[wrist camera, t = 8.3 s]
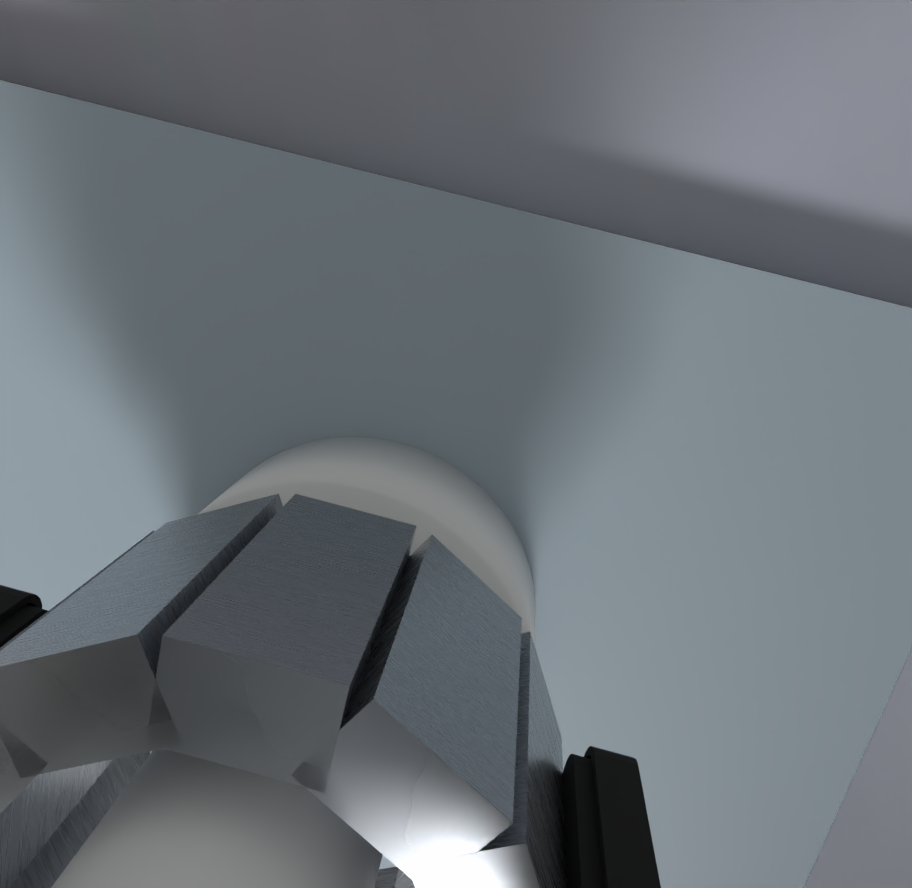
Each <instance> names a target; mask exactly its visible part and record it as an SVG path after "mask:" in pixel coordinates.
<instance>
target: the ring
mask: <svg viewBox="0 0 912 888" xmlns="http://www.w3.org/2000/svg"><path fill="white" fill-rule="evenodd" d="M416 527H417V526H416V525H412V524H408V523H405V522H401V521H397V520H393V519H390V518H386V517H382V516H378V515H375V514H371V513H367V512H363V511H359V510H356V509H352V508H348V507H344V506H341V505H337V504H333V503H329V502H325V501H322V500H318V499H314V498H310V497H307V496H303V495H299V494H295V495H294V496H293V497H292V498H291V499H290V500H289V501H288V502H287V503H286V504H285V505H284V506H283V504H282V502H281V499H280V496H279V493H278V494H274V495H271V496H267V497H263V498H259V499H255V500H251V501H247V502H244V503H240V504H236V505H232V506H228V507H224V508H221V509H217V510H213V511H209V512H205V513H201V514H197V515H194V516H190V517H186V518H182V519H178V520H174V521H170V522H167V523H165V524H164V525H163V526H161V527H160V528H159V529H157V530H156V531H154V530H153V531H152V532H151V533H149V534H148V535H147V536H145V537H144V538H143V539H141V540H140V541H139V542H138V543H136V544H135V545H134V546H132V547H131V548H130V549H128V550H127V551H126V552H125V553H123V554H122V555H121V556H119V557H118V558H117V559H115V560H114V561H113V562H111V563H110V564H109V565H108V566H106V567H105V568H104V569H102V570H101V571H100V572H98V573H97V574H96V575H95V576H93V577H92V578H91V579H89V580H88V581H87V582H85V583H84V584H83V585H82V586H80V587H79V588H78V589H76V590H75V591H74V592H72V593H71V594H70V595H68V596H67V597H66V598H65V599H63V600H62V601H61V602H59V603H58V604H57V605H55V606H54V607H53V608H52V609H50V610H49V611H48V612H46V613H45V614H44V615H42V616H41V617H40V618H39V619H37V620H36V621H35V622H33V623H32V624H31V625H29V626H28V627H27V628H26V629H24V630H23V631H22V632H20V633H19V634H18V635H16V636H15V637H14V638H12V639H11V640H10V641H9V642H7V643H6V644H5V645H3V646H2V647H1V648H0V888H51V887H52V886H53V884H54V883H55V882H56V880H57V879H58V878H59V876H60V875H61V874H62V872H63V871H64V869H65V868H66V867H67V865H68V864H69V863H70V861H71V860H72V859H73V857H74V856H75V855H76V853H77V852H78V851H79V849H80V848H81V847H82V845H83V844H84V843H85V841H86V840H87V839H88V837H89V836H90V834H91V833H92V832H93V830H94V829H95V828H96V826H97V825H98V824H99V822H100V821H101V820H102V818H103V817H104V816H105V814H106V813H107V812H108V810H109V809H110V808H111V806H112V805H113V803H114V802H115V801H116V799H117V798H118V797H119V795H120V794H121V793H122V791H123V790H124V789H125V787H126V786H127V785H128V783H129V782H130V781H131V779H132V778H133V777H134V775H135V774H136V772H137V771H138V770H139V768H140V767H141V766H142V764H143V763H144V762H145V760H146V759H147V758H148V756H149V755H150V751H155V750H160V749H168V750H172V751H176V752H179V753H183V754H186V755H190V756H194V757H197V758H201V759H204V760H208V761H212V762H215V763H219V764H222V765H226V766H230V767H233V768H237V769H240V770H244V771H248V772H251V773H255V774H258V775H262V776H266V777H269V778H273V779H276V780H280V781H283V782H287V783H291V784H294V785H298V786H301V787H305V788H306V789H308V790H309V791H310V792H311V793H312V794H313V795H314V796H316V797H317V798H318V799H319V800H320V801H321V802H323V803H324V804H325V805H326V806H327V807H328V808H330V809H331V810H332V811H333V812H334V813H335V814H336V815H338V816H339V817H340V818H341V819H342V820H343V821H345V822H346V823H347V824H348V825H349V826H350V827H351V828H353V829H354V830H355V831H356V832H357V833H358V834H360V835H361V836H362V837H363V838H364V839H365V840H367V841H368V842H369V843H370V844H371V845H372V846H373V847H375V848H376V849H377V850H378V851H379V852H380V853H382V854H383V855H384V856H385V857H386V858H387V859H388V860H390V861H391V862H392V863H393V864H394V865H395V866H396V867H390V868H384V869H379V871H378V875H377V879H376V883H375V887H374V888H567V877H566V853H565V830H564V806H563V782H562V773H563V756H562V737H561V733H560V730H559V727H558V723H557V720H556V716H555V713H554V710H553V706H552V703H551V699H550V696H549V693H548V689H547V686H546V682H545V679H544V676H543V672H542V669H541V665H540V662H539V659H538V655H537V652H536V648H535V645H534V642H533V638H532V635H531V632H526V633H521V627H522V617H521V616H519V615H518V614H517V613H516V612H515V611H514V610H513V609H512V608H511V607H510V606H509V605H508V604H507V603H505V602H504V601H503V600H502V599H501V598H500V597H499V596H498V595H497V594H496V593H495V592H494V591H493V590H492V589H490V588H489V587H488V586H487V585H486V584H485V583H484V582H483V581H482V580H481V579H480V578H479V577H478V576H476V575H475V574H474V573H473V572H472V571H471V570H470V569H469V568H468V567H467V566H466V565H465V564H464V563H463V562H461V561H460V560H459V559H458V558H457V557H456V556H455V555H454V554H453V553H452V552H451V551H450V550H449V549H447V548H446V547H445V546H444V545H443V544H442V543H441V542H440V541H439V540H438V539H437V538H436V537H435V536H434V535H431V536H430V537H429V538H428V539H427V540H425V541H424V542H423V543H422V544H421V545H420V546H419V547H418V548H417V549H416V550H415V551H414V552H413V553H412V554H411V555H410V552H411V547H412V543H413V539H414V535H415V531H416Z"/></svg>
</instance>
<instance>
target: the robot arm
mask: <svg viewBox="0 0 912 888" xmlns="http://www.w3.org/2000/svg"><path fill="white" fill-rule="evenodd" d="M46 612H48V610H44V609H42V602H41V599H40V597H38V596H37V595H36V594H32V593H28V592H25V591H21V590H17V589H14V588H10V587H6V586H3V585H0V648H1V647H2V646H3V645H5V644H6V643H7V642H9V641H10V640H11V639H12V638H14V637H15V636H16V635H18V634H19V633H20V632H22V631H23V630H24V629H26V628H27V627H28V626H29V625H31V624H32V623H33V622H35V621H36V620H37V619H39V618H40V617H41V616H42V615H44V614H45V613H46ZM562 782H563V806H564V830H565V853H566V877H567V888H661V885H660V880H659V874H658V869H657V864H656V858H655V853H654V847H653V842H652V837H651V831H650V826H649V820H648V815H647V810H646V804H645V799H644V793H643V788H642V783H641V777H640V772H639V766H638V763H637V760H636V759H635V758H633V757H630V756H626V755H622V754H619V753H615V752H611V751H608V750H604V749H600V748H597V747H593V746H590V747H588V749H587V751H586V752H585V755H584V757H582V756H579V755H575V754H570V755H569V757H568V759H567V761H566V764H565V767H564V770H563V773H562Z"/></svg>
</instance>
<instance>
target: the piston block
mask: <svg viewBox="0 0 912 888" xmlns="http://www.w3.org/2000/svg"><path fill="white" fill-rule="evenodd" d="M278 493H279V496H280V499H281V502H282V504H283V506H284V505H285V504H286V503H287V502H288V501H289V500H290V499H291V498H292V497H293V496H294V495H295V494H299V495H303V496H307V497H310V498H314V499H318V500H322V501H325V502H329V503H333V504H337V505H341V506H344V507H348V508H352V509H356V510H359V511H363V512H367V513H371V514H375V515H378V516H382V517H386V518H390V519H393V520H397V521H401V522H405V523H408V524H412V525H416V526H417V527H416V531H415V535H414V539H413V543H412V547H411V552H410V555H411V554H412V553H413V552H414V551H415V550H416V549H417V548H418V547H419V546H420V545H421V544H422V543H423V542H424V541H425V540H427V539H428V538H429V537H430V536H431V535H434V536H435V537H436V538H437V539H438V540H439V541H440V542H441V543H442V544H443V545H444V546H445V547H446V548H447V549H449V550H450V551H451V552H452V553H453V554H454V555H455V556H456V557H457V558H458V559H459V560H460V561H461V562H463V563H464V564H465V565H466V566H467V567H468V568H469V569H470V570H471V571H472V572H473V573H474V574H475V575H476V576H478V577H479V578H480V579H481V580H482V581H483V582H484V583H485V584H486V585H487V586H488V587H489V588H490V589H492V590H493V591H494V592H495V593H496V594H497V595H498V596H499V597H500V598H501V599H502V600H503V601H504V602H505V603H507V604H508V605H509V606H510V607H511V608H512V609H513V610H514V611H515V612H516V613H517V614H518V615H519V616H521V617H522V627H521V633H526V632H531V635H532V638H533V642H534V645H535V648H536V652H537V655H538V659H539V662H540V665H541V669H542V672H543V676H544V679H545V682H546V686H547V689H548V693H549V696H550V699H551V703H552V706H553V710H554V713H555V716H556V720H557V723H558V727H559V730H560V733H561V737H562V756H563V770H564V767H565V764H566V761H567V759H568V757H569V755H570V754H575V755H579V756H582V757H584V755H585V752H586V751H587V749H588V747H590V746H593V747H597V748H600V749H604V750H608V751H611V752H615V753H619V754H622V755H626V756H630V757H633V758H635V759H636V760H637V763H638V766H639V772H640V777H641V783H642V788H643V793H644V799H645V804H646V810H647V815H648V820H649V826H650V831H651V837H652V842H653V847H654V853H655V858H656V864H657V869H658V874H659V880H660V885H661V888H804V886H805V883H806V881H807V879H808V877H809V875H810V872H811V870H812V868H813V866H814V864H815V861H816V859H817V857H818V855H819V852H820V850H821V848H822V846H823V844H824V841H825V839H826V837H827V835H828V832H829V830H830V828H831V826H832V824H833V821H834V819H835V817H836V815H837V813H838V810H839V808H840V806H841V804H842V801H843V799H844V797H845V795H846V793H847V790H848V788H849V786H850V784H851V782H852V779H853V777H854V775H855V773H856V770H857V768H858V766H859V764H860V762H861V759H862V757H863V755H864V753H865V750H866V748H867V746H868V744H869V742H870V739H871V737H872V735H873V733H874V731H875V728H876V726H877V724H878V722H879V719H880V717H881V715H882V713H883V711H884V708H885V706H886V704H887V702H888V699H889V697H890V695H891V693H892V691H893V688H894V686H895V684H896V682H897V680H898V677H899V675H900V673H901V671H902V668H903V666H904V664H905V662H906V660H907V657H908V655H909V653H910V651H911V648H912V308H910V307H906V306H902V305H898V304H894V303H890V302H886V301H882V300H878V299H874V298H870V297H866V296H862V295H858V294H854V293H850V292H846V291H842V290H838V289H834V288H830V287H826V286H822V285H818V284H814V283H810V282H806V281H802V280H798V279H794V278H790V277H786V276H782V275H778V274H774V273H770V272H766V271H762V270H758V269H754V268H750V267H746V266H742V265H738V264H734V263H730V262H726V261H722V260H718V259H714V258H710V257H706V256H702V255H698V254H694V253H690V252H686V251H682V250H678V249H674V248H670V247H666V246H662V245H658V244H654V243H650V242H646V241H642V240H638V239H634V238H630V237H626V236H622V235H618V234H614V233H610V232H606V231H602V230H598V229H594V228H590V227H586V226H582V225H578V224H574V223H570V222H566V221H562V220H558V219H554V218H550V217H546V216H542V215H538V214H534V213H530V212H526V211H522V210H518V209H514V208H510V207H506V206H502V205H498V204H494V203H490V202H486V201H482V200H478V199H474V198H470V197H466V196H462V195H458V194H454V193H450V192H446V191H442V190H438V189H434V188H430V187H426V186H422V185H418V184H414V183H410V182H406V181H402V180H398V179H394V178H390V177H386V176H382V175H378V174H374V173H370V172H366V171H362V170H358V169H354V168H350V167H346V166H342V165H338V164H334V163H330V162H326V161H322V160H318V159H314V158H310V157H306V156H302V155H298V154H294V153H290V152H286V151H282V150H278V149H274V148H270V147H266V146H262V145H258V144H254V143H250V142H246V141H242V140H238V139H234V138H230V137H226V136H222V135H218V134H214V133H210V132H206V131H202V130H198V129H194V128H190V127H186V126H182V125H178V124H174V123H170V122H166V121H162V120H158V119H154V118H150V117H146V116H142V115H138V114H134V113H130V112H126V111H122V110H118V109H114V108H110V107H106V106H102V105H98V104H94V103H90V102H86V101H82V100H78V99H74V98H70V97H66V96H62V95H58V94H54V93H50V92H46V91H42V90H38V89H34V88H30V87H26V86H22V85H18V84H14V83H10V82H6V81H2V80H0V585H3V586H6V587H10V588H14V589H17V590H21V591H25V592H28V593H32V594H36V595H37V596H38V597H40V599H41V602H42V609H44V610H48V611H49V610H50V609H52V608H53V607H54V606H55V605H57V604H58V603H59V602H61V601H62V600H63V599H65V598H66V597H67V596H68V595H70V594H71V593H72V592H74V591H75V590H76V589H78V588H79V587H80V586H82V585H83V584H84V583H85V582H87V581H88V580H89V579H91V578H92V577H93V576H95V575H96V574H97V573H98V572H100V571H101V570H102V569H104V568H105V567H106V566H108V565H109V564H110V563H111V562H113V561H114V560H115V559H117V558H118V557H119V556H121V555H122V554H123V553H125V552H126V551H127V550H128V549H130V548H131V547H132V546H134V545H135V544H136V543H138V542H139V541H140V540H141V539H143V538H144V537H145V536H147V535H148V534H149V533H151V532H152V531H153V530H154V531H156V530H157V529H159V528H160V527H161V526H163V525H164V524H165V523H167V522H170V521H174V520H178V519H182V518H186V517H190V516H194V515H197V514H201V513H205V512H209V511H213V510H217V509H221V508H224V507H228V506H232V505H236V504H240V503H244V502H247V501H251V500H255V499H259V498H263V497H267V496H271V495H274V494H278ZM390 867H396V866H395V865H394V864H393V863H392V862H391V861H390V860H388V859H387V858H386V857H385V856H384V855H383V854H382V853H380V852H379V851H378V850H377V849H376V848H375V847H373V846H372V845H371V844H370V843H369V842H368V841H367V840H365V839H364V838H363V837H362V836H361V835H360V834H358V833H357V832H356V831H355V830H354V829H353V828H351V827H350V826H349V825H348V824H347V823H346V822H345V821H343V820H342V819H341V818H340V817H339V816H338V815H336V814H335V813H334V812H333V811H332V810H331V809H330V808H328V807H327V806H326V805H325V804H324V803H323V802H321V801H320V800H319V799H318V798H317V797H316V796H314V795H313V794H312V793H311V792H310V791H309V790H308V789H306V788H305V787H301V786H298V785H294V784H291V783H287V782H283V781H280V780H276V779H273V778H269V777H266V776H262V775H258V774H255V773H251V772H248V771H244V770H240V769H237V768H233V767H230V766H226V765H222V764H219V763H215V762H212V761H208V760H204V759H201V758H197V757H194V756H190V755H186V754H183V753H179V752H176V751H172V750H168V749H160V750H155V751H150V755H149V756H148V758H147V759H146V760H145V762H144V763H143V764H142V766H141V767H140V768H139V770H138V771H137V772H136V774H135V775H134V777H133V778H132V779H131V781H130V782H129V783H128V785H127V786H126V787H125V789H124V790H123V791H122V793H121V794H120V795H119V797H118V798H117V799H116V801H115V802H114V803H113V805H112V806H111V808H110V809H109V810H108V812H107V813H106V814H105V816H104V817H103V818H102V820H101V821H100V822H99V824H98V825H97V826H96V828H95V829H94V830H93V832H92V833H91V834H90V836H89V837H88V839H87V840H86V841H85V843H84V844H83V845H82V847H81V848H80V849H79V851H78V852H77V853H76V855H75V856H74V857H73V859H72V860H71V861H70V863H69V864H68V865H67V867H66V868H65V869H64V871H63V872H62V874H61V875H60V876H59V878H58V879H57V880H56V882H55V883H54V884H53V886H52V887H51V888H374V887H375V883H376V879H377V875H378V871H379V869H384V868H390Z"/></svg>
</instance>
